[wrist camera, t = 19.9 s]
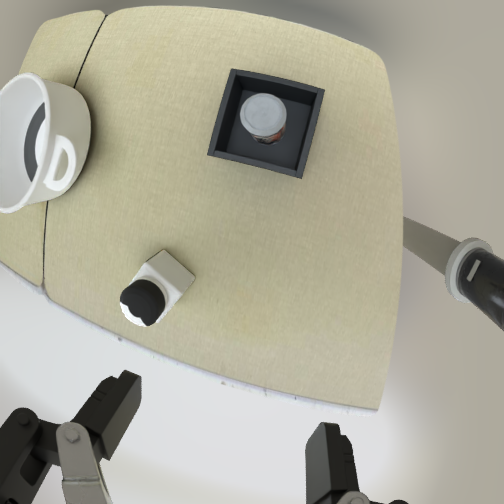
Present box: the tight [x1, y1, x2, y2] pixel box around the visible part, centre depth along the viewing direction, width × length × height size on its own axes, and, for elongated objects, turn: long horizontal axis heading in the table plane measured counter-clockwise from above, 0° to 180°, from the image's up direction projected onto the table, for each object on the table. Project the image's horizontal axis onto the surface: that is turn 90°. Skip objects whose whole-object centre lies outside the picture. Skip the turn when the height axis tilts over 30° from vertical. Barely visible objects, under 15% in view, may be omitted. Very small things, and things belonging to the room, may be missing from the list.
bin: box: [207, 69, 325, 179], centre depth 34 cm, size 12×12×8 cm
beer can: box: [240, 93, 287, 145], centre depth 31 cm, size 5×5×12 cm
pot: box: [0, 72, 91, 214], centre depth 34 cm, size 33×23×14 cm
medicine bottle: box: [120, 250, 195, 326], centre depth 40 cm, size 7×7×12 cm
